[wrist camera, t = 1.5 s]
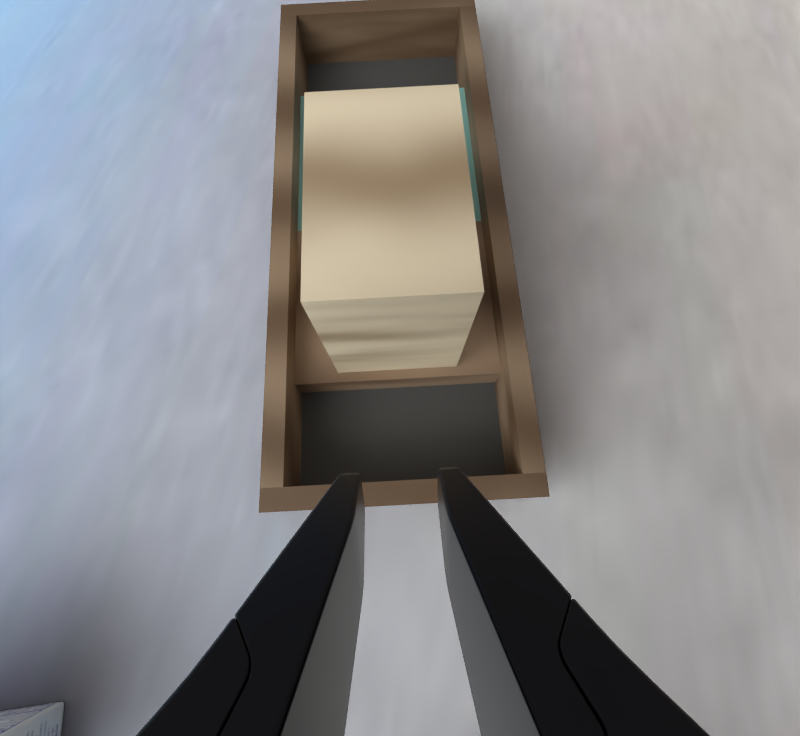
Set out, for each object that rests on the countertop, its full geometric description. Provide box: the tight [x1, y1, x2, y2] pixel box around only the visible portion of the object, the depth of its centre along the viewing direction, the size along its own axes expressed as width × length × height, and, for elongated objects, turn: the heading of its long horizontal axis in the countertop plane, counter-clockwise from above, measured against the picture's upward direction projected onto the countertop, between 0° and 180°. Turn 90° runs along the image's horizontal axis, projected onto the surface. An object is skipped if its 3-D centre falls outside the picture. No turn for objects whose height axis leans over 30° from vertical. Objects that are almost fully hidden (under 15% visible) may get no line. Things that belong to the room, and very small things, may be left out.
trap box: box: [259, 0, 549, 513], centre depth 24 cm, size 31×12×4 cm, turn 3°
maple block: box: [300, 84, 484, 373], centre depth 19 cm, size 9×6×8 cm, turn 3°
